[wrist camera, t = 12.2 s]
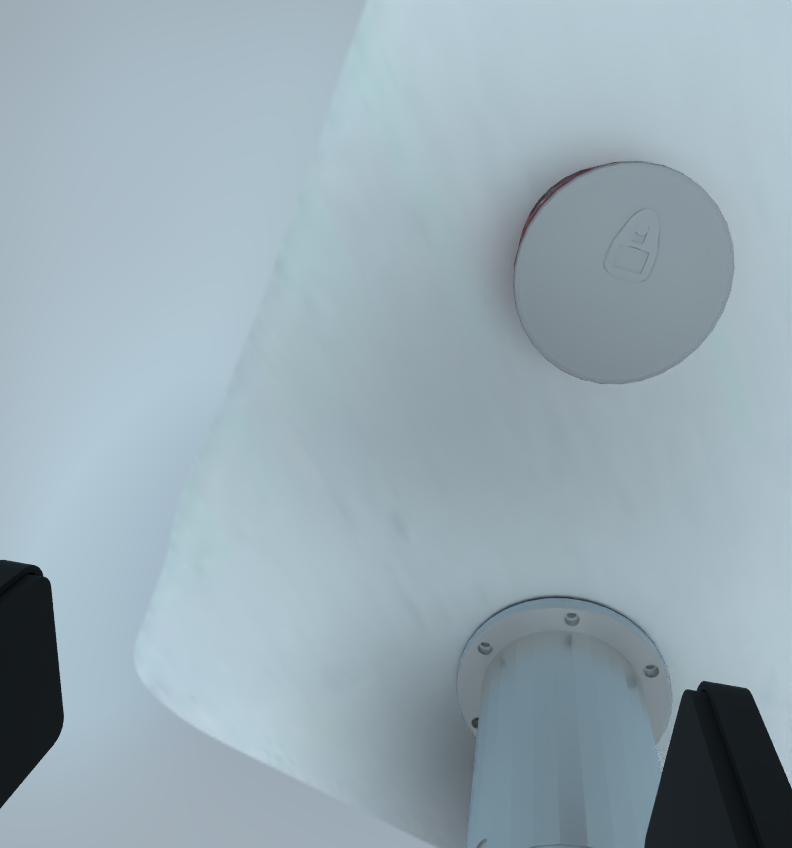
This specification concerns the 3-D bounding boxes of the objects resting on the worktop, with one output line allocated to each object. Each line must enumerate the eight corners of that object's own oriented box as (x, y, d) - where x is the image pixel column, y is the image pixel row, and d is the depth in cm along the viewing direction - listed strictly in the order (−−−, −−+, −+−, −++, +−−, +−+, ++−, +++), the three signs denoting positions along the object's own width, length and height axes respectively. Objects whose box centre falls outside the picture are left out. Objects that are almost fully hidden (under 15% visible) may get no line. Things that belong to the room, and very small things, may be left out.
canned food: (688, 165, 34) (754, 160, 24) (666, 332, 37) (717, 393, 27) (523, 164, 35) (519, 159, 25) (513, 326, 38) (506, 381, 28)
